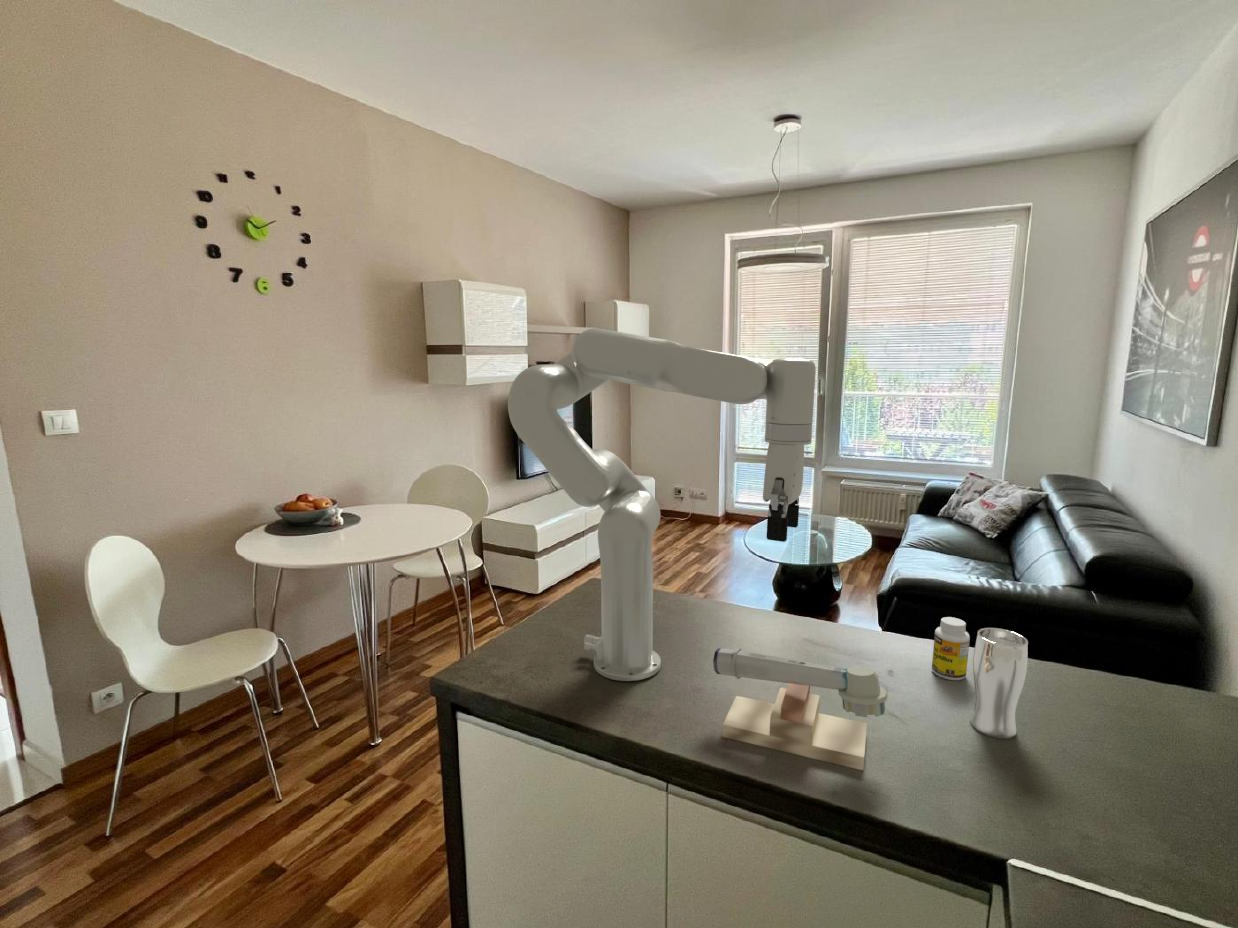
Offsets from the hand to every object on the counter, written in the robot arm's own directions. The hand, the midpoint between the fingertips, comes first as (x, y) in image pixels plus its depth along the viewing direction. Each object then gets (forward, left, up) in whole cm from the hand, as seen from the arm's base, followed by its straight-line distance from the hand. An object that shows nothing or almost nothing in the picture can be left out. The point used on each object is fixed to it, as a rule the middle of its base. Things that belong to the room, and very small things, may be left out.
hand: (782, 532), depth 106 cm
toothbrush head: (+5, -15, -21) cm, 26 cm away
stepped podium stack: (+5, -16, -27) cm, 32 cm away
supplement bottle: (+28, +15, -28) cm, 42 cm away
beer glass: (+33, -1, -28) cm, 43 cm away
